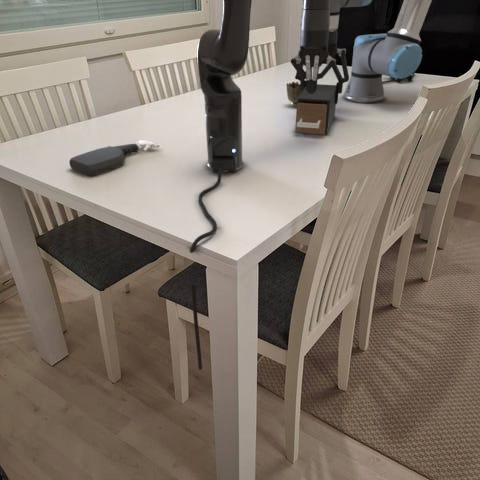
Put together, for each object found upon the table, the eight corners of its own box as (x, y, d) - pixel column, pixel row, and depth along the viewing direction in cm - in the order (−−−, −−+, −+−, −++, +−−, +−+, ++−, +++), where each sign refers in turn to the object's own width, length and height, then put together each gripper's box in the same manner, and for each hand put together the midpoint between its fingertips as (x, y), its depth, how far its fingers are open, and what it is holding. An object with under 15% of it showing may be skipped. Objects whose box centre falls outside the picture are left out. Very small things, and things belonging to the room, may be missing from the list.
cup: (282, 107, 166) (283, 85, 162) (290, 102, 172) (290, 80, 168) (301, 109, 163) (302, 87, 159) (308, 104, 169) (309, 82, 165)
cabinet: (327, 135, 139) (330, 100, 134) (295, 132, 142) (296, 98, 136) (334, 117, 155) (337, 85, 150) (305, 115, 158) (307, 83, 152)
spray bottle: (67, 168, 120) (139, 144, 136) (91, 178, 114) (163, 151, 130) (65, 157, 118) (137, 134, 134) (89, 167, 112) (162, 142, 128)
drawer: (321, 141, 132) (323, 110, 128) (292, 138, 135) (293, 108, 130) (331, 117, 152) (334, 90, 147) (305, 115, 154) (307, 89, 149)
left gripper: (341, 25, 121) (335, 91, 130) (293, 25, 124) (291, 88, 134) (338, 29, 115) (332, 97, 124) (288, 29, 118) (286, 95, 128)
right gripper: (363, 29, 139) (355, 101, 151) (292, 27, 145) (289, 97, 157) (362, 32, 133) (353, 107, 145) (287, 30, 139) (284, 102, 151)
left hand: (311, 93), depth 129 cm, fingers closed
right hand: (319, 102), depth 151 cm, fingers closed on cabinet, 10 cm apart
